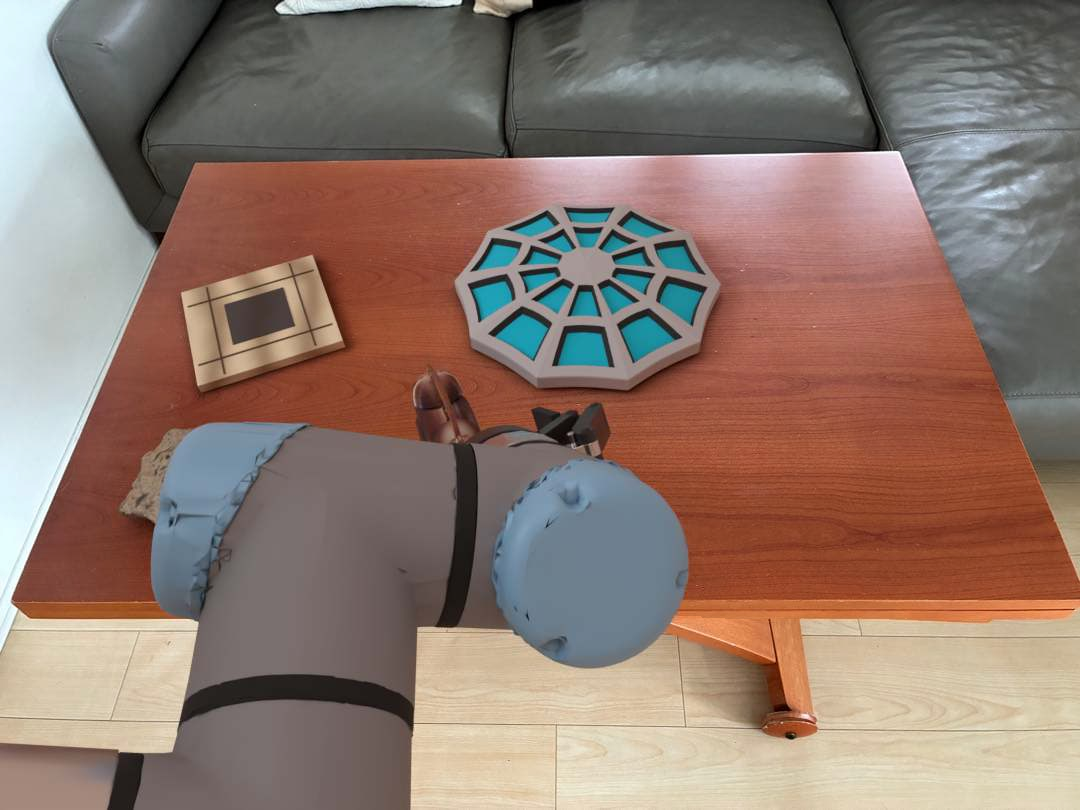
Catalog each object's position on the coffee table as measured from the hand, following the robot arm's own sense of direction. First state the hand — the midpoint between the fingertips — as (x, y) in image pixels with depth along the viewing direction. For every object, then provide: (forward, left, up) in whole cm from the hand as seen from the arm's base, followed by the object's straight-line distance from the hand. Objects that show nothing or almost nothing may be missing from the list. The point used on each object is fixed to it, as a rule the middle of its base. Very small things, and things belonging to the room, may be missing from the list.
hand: (463, 450), depth 63 cm
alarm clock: (0, +4, -12) cm, 12 cm away
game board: (-14, +35, -12) cm, 40 cm away
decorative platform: (+22, +23, -12) cm, 34 cm away
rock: (-24, +14, -12) cm, 30 cm away
